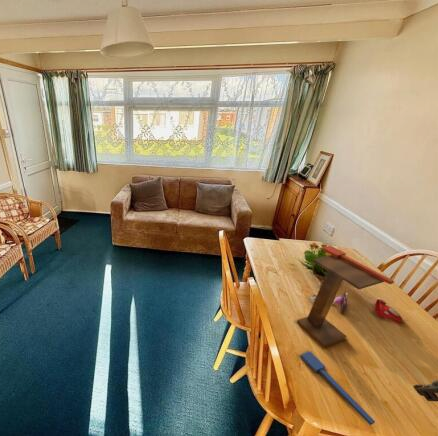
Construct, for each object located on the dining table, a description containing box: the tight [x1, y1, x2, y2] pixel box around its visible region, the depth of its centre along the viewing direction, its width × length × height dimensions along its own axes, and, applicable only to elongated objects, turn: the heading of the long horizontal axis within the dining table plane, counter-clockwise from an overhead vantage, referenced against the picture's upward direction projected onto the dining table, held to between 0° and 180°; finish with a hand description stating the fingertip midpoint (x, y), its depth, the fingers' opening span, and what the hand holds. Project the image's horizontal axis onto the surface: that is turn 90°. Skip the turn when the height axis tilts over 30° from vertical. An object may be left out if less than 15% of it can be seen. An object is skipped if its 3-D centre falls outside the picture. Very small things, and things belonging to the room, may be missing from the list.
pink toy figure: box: [332, 290, 349, 315], centre depth 106 cm, size 7×5×9 cm
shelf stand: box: [296, 255, 385, 348], centre depth 88 cm, size 16×14×32 cm
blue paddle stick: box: [299, 350, 376, 426], centre depth 76 cm, size 22×4×1 cm, turn 17°
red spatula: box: [321, 245, 395, 285], centre depth 83 cm, size 22×4×1 cm, turn 17°
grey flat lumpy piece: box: [309, 294, 317, 304], centre depth 109 cm, size 7×8×2 cm
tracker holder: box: [373, 297, 404, 324], centre depth 102 cm, size 12×4×10 cm
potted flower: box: [298, 242, 342, 280], centre depth 123 cm, size 25×24×18 cm
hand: (432, 384), depth 60 cm, fingers open, 8 cm apart
